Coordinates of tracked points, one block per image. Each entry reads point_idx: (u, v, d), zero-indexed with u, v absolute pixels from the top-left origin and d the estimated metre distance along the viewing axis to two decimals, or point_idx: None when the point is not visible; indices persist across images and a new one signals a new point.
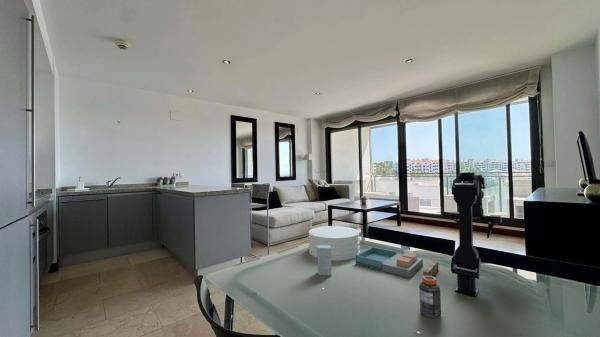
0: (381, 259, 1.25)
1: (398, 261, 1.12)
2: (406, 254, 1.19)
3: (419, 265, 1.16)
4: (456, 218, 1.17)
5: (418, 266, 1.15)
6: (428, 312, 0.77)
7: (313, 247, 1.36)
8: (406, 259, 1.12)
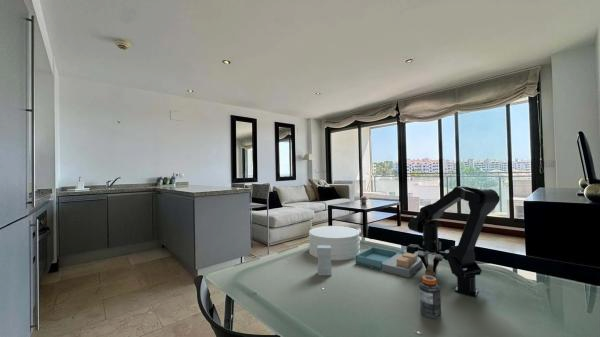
0: (381, 259, 1.25)
1: (398, 261, 1.12)
2: (406, 254, 1.19)
3: (419, 265, 1.16)
4: (412, 252, 1.11)
5: (418, 266, 1.15)
6: (428, 312, 0.77)
7: (313, 247, 1.37)
8: (406, 259, 1.12)
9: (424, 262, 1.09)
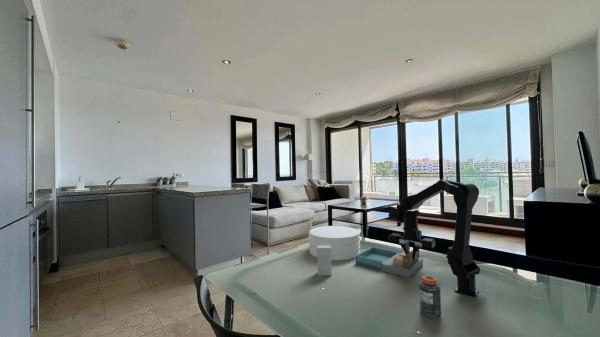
0: (381, 259, 1.25)
1: (394, 260, 1.13)
2: (403, 253, 1.20)
3: (419, 265, 1.16)
4: (393, 240, 1.17)
5: (418, 266, 1.15)
6: (428, 312, 0.77)
7: (314, 247, 1.37)
8: (402, 258, 1.13)
9: (405, 250, 1.14)
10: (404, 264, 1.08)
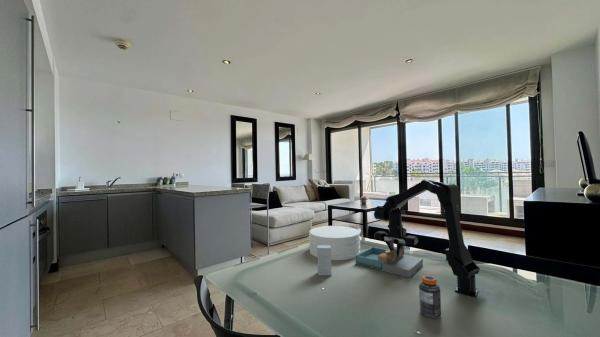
0: None
1: (379, 257, 1.18)
2: (388, 250, 1.25)
3: (419, 265, 1.16)
4: (379, 238, 1.21)
5: (418, 266, 1.15)
6: (428, 312, 0.77)
7: (314, 247, 1.37)
8: None
9: (389, 247, 1.19)
10: (388, 260, 1.13)
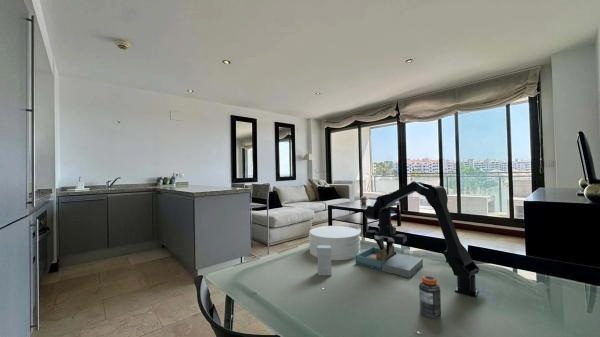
0: None
1: None
2: None
3: (419, 265, 1.16)
4: (369, 236, 1.25)
5: (418, 266, 1.15)
6: (428, 312, 0.77)
7: (314, 247, 1.37)
8: None
9: (379, 245, 1.22)
10: (378, 259, 1.16)
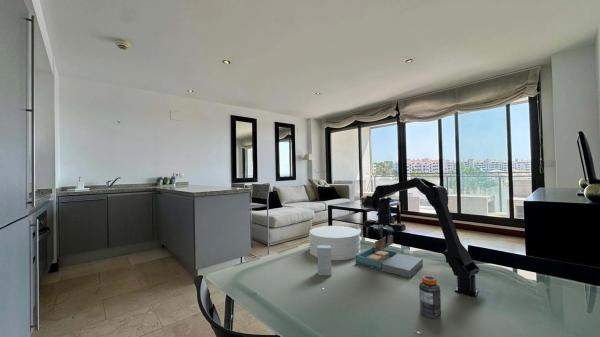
0: None
1: None
2: (379, 252, 1.28)
3: (419, 265, 1.16)
4: (368, 226, 1.25)
5: (418, 266, 1.15)
6: (428, 312, 0.77)
7: (314, 247, 1.37)
8: (376, 257, 1.21)
9: (378, 234, 1.22)
10: (377, 248, 1.17)
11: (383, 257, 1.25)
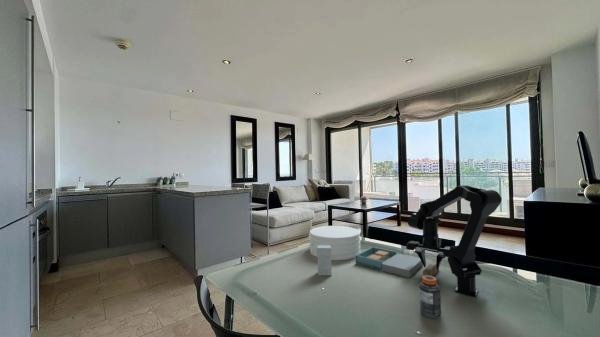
0: None
1: None
2: (379, 252, 1.28)
3: (419, 265, 1.16)
4: (412, 249, 1.11)
5: (418, 266, 1.15)
6: (428, 312, 0.77)
7: (314, 247, 1.37)
8: (376, 257, 1.21)
9: (421, 258, 1.09)
10: None
11: (383, 257, 1.25)
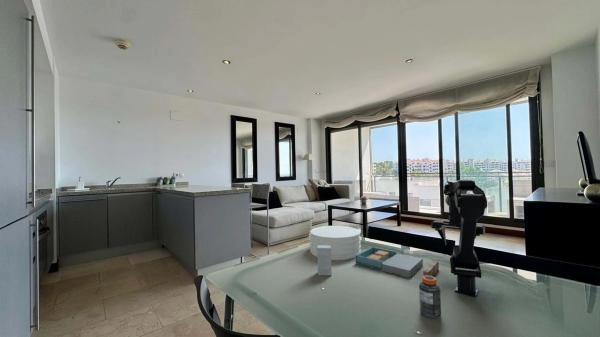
0: None
1: None
2: (379, 252, 1.28)
3: (419, 265, 1.16)
4: (437, 227, 1.10)
5: (418, 266, 1.15)
6: (428, 312, 0.77)
7: (314, 247, 1.37)
8: (376, 257, 1.21)
9: (442, 236, 1.09)
10: None
11: (383, 257, 1.25)
